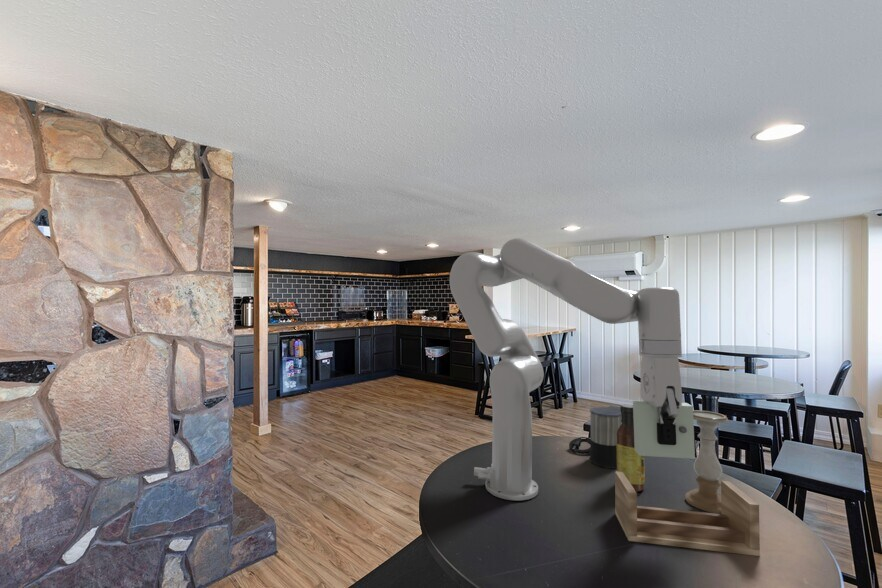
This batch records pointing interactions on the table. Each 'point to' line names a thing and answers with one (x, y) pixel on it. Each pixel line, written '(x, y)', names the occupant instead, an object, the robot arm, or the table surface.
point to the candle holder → (707, 464)
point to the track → (691, 522)
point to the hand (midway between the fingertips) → (663, 440)
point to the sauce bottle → (629, 450)
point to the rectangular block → (647, 432)
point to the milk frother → (601, 437)
